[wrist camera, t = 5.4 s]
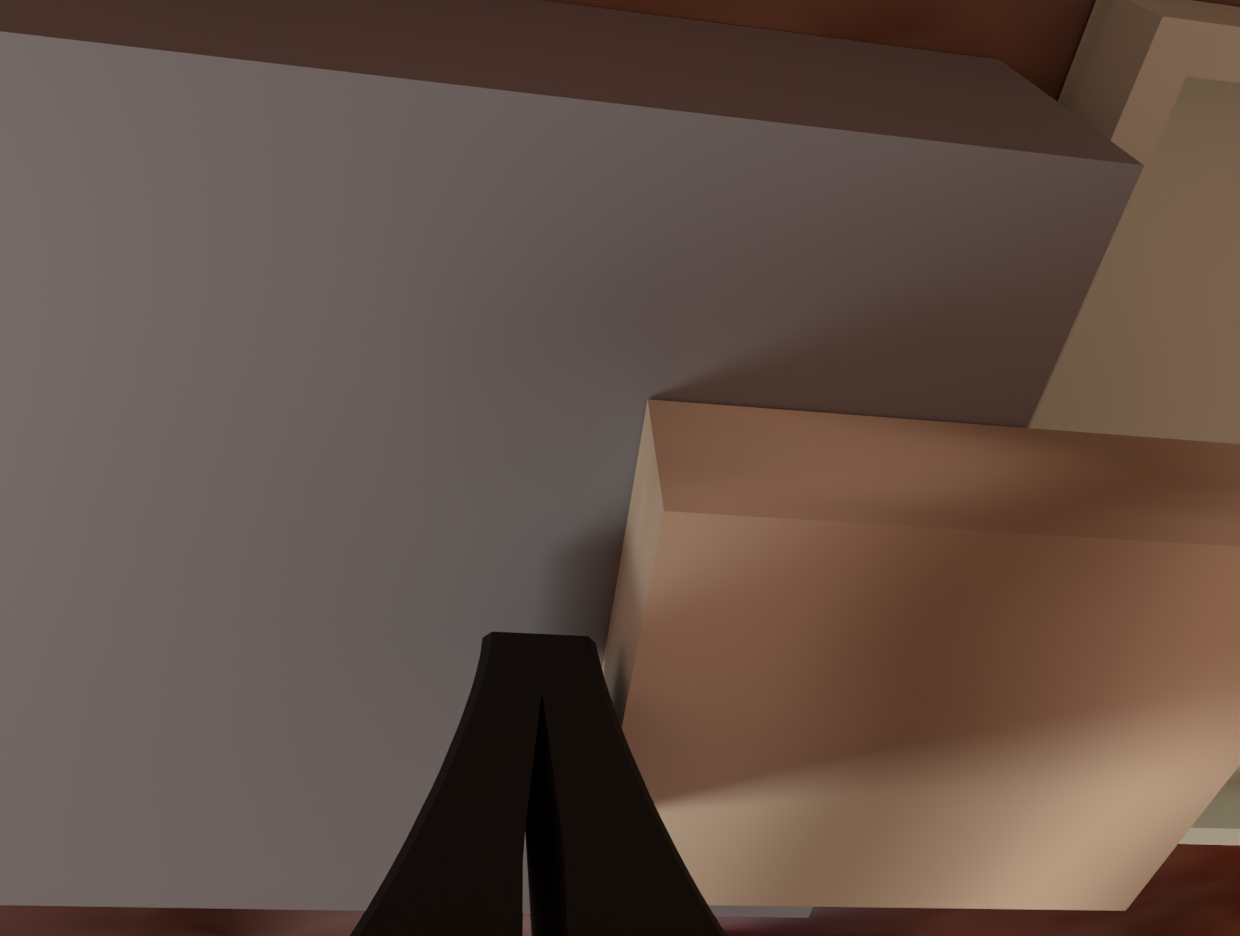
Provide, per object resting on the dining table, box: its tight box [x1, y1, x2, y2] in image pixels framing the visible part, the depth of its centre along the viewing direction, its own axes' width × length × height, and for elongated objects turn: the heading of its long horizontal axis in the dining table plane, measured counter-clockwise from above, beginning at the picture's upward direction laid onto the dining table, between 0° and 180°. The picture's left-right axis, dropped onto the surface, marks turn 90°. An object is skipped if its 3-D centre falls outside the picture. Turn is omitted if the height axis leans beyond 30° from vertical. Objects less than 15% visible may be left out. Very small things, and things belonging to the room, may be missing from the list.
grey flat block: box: [0, 0, 1144, 918], centre depth 14 cm, size 20×14×4 cm
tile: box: [602, 399, 1240, 911], centre depth 13 cm, size 8×7×2 cm
